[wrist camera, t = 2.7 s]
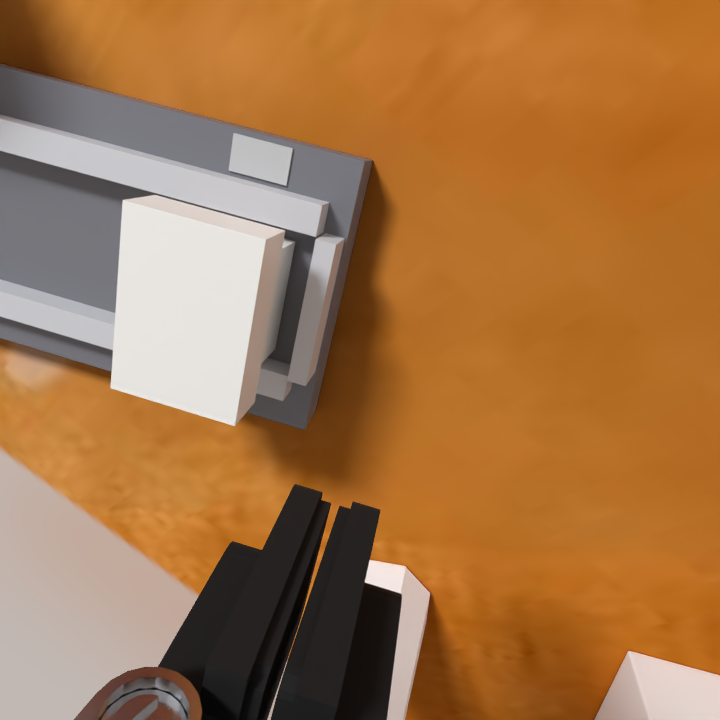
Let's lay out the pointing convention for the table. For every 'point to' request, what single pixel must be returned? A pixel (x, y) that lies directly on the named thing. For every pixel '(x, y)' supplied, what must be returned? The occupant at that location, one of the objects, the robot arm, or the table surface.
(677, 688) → the milk
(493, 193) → the table surface
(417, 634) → the salt shaker
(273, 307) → the fader knob
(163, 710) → the robot arm
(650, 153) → the table surface
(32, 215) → the fader panel
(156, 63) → the table surface
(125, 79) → the table surface
